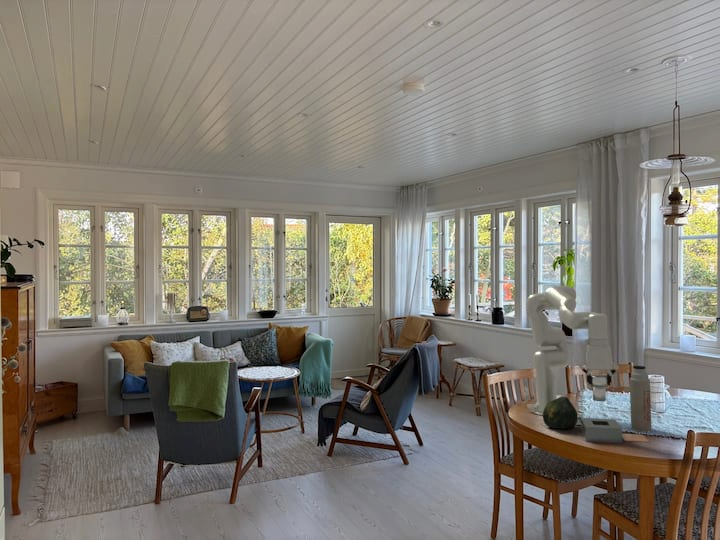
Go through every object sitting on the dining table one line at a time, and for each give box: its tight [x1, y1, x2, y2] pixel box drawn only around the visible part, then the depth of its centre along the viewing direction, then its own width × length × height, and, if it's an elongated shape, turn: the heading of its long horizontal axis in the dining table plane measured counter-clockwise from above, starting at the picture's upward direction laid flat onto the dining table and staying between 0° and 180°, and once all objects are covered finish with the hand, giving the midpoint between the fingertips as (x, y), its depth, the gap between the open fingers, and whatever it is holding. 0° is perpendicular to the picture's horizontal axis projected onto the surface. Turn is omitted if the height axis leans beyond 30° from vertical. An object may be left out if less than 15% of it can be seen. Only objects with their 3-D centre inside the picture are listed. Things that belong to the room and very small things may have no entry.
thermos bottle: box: [629, 365, 652, 433], centre depth 236 cm, size 8×8×28 cm
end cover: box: [590, 374, 609, 402], centre depth 227 cm, size 7×7×10 cm
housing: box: [580, 417, 623, 444], centre depth 226 cm, size 14×14×6 cm
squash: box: [542, 396, 578, 430], centre depth 242 cm, size 14×15×15 cm
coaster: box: [622, 433, 649, 443], centre depth 224 cm, size 9×9×1 cm
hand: (599, 384), depth 227 cm, fingers closed on end cover, 6 cm apart
